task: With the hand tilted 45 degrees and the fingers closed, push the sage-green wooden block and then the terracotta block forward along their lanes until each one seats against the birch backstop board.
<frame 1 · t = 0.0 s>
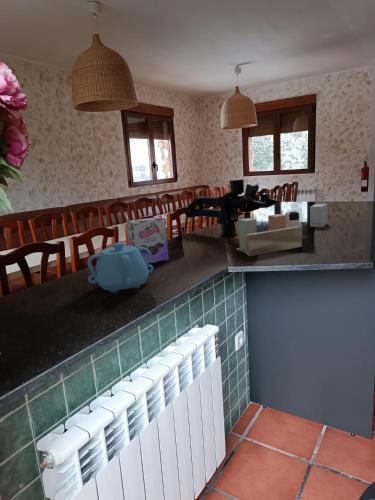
hand: (272, 203, 149), 17 cm above the counter, tool horizontal, fingers open, 9 cm apart
sage block: (247, 234, 140), point 6 cm above the counter, slide at 0.0 cm
candy box: (150, 262, 133), on the counter
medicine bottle: (291, 239, 154), on the counter
decorative pot: (123, 286, 108), on the counter
terracotta block: (277, 229, 145), point 6 cm above the counter, slide at 0.0 cm
skincare box: (318, 225, 181), on the counter
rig: (264, 247, 143), on the counter
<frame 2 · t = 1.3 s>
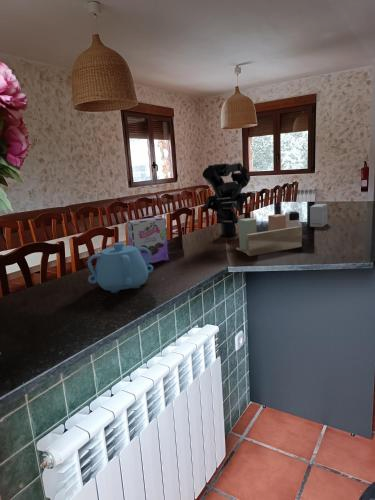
hand: (233, 215, 149), 13 cm above the counter, tool tilted 45°, fingers open, 8 cm apart
nothing on the counter moved.
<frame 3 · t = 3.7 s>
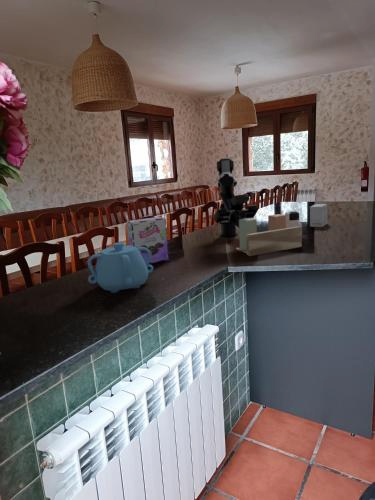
hand: (244, 229, 142), 8 cm above the counter, tool tilted 45°, fingers closed, pressing on sage block
sage block: (248, 234, 140), point 6 cm above the counter, slide at 0.2 cm, touching gripper
everything else where it was.
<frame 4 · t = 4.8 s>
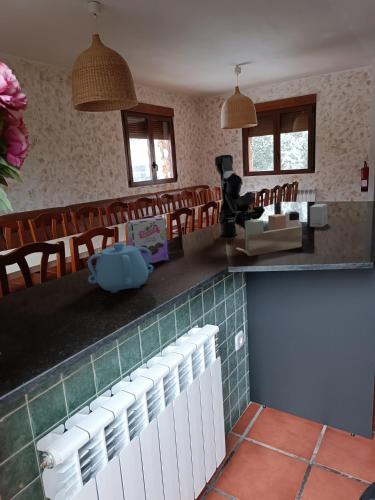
hand: (250, 231, 138), 8 cm above the counter, tool tilted 45°, fingers closed, pressing on sage block
sage block: (254, 236, 136), point 6 cm above the counter, slide at 4.7 cm, touching gripper, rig
everything else where it was.
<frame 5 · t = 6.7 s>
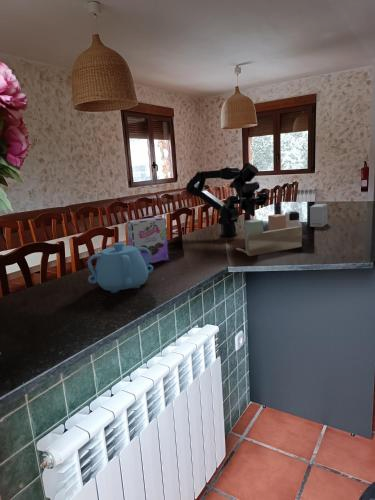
hand: (253, 215, 151), 12 cm above the counter, tool tilted 45°, fingers closed
sage block: (254, 236, 136), point 6 cm above the counter, slide at 4.5 cm
everything else where it was.
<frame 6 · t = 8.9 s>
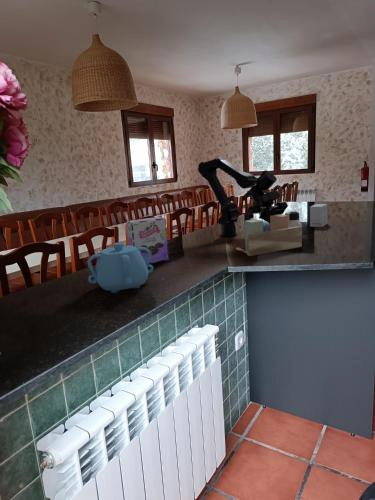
hand: (275, 225, 146), 8 cm above the counter, tool tilted 45°, fingers closed, pressing on terracotta block
terracotta block: (279, 230, 143), point 6 cm above the counter, slide at 1.5 cm, touching gripper
everything else where it was.
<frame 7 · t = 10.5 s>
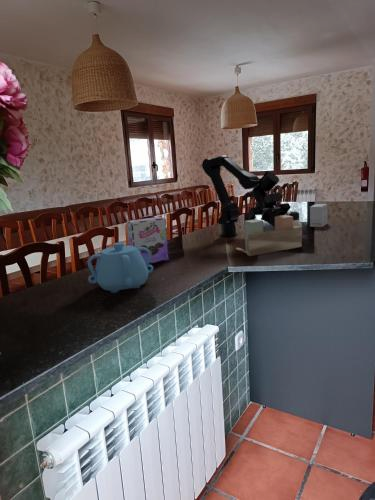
hand: (277, 227, 144), 7 cm above the counter, tool tilted 45°, fingers closed
terracotta block: (283, 231, 141), point 6 cm above the counter, slide at 4.5 cm
everything else where it was.
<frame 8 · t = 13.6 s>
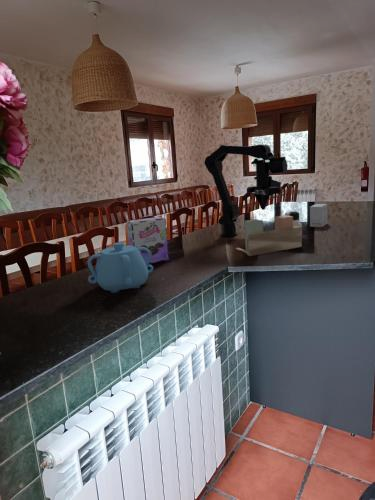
hand: (263, 209, 157), 13 cm above the counter, tool pointing down, fingers closed
nothing on the counter moved.
at the end: sage block slide at 4.5 cm; terracotta block slide at 4.5 cm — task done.
